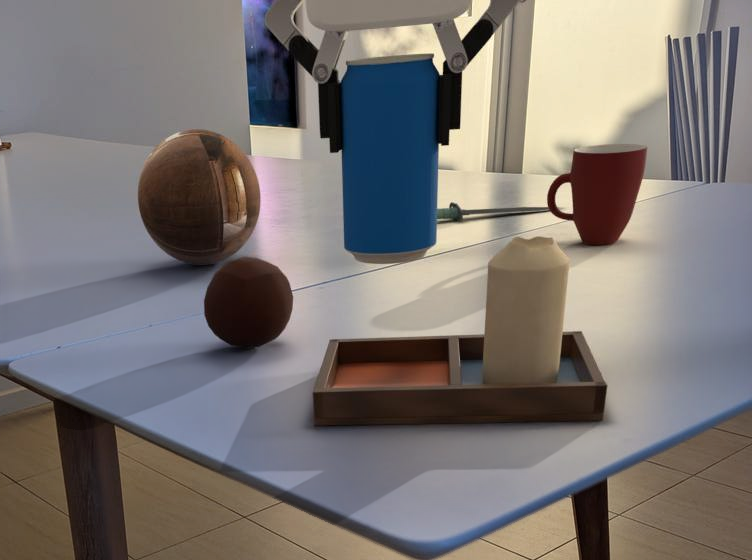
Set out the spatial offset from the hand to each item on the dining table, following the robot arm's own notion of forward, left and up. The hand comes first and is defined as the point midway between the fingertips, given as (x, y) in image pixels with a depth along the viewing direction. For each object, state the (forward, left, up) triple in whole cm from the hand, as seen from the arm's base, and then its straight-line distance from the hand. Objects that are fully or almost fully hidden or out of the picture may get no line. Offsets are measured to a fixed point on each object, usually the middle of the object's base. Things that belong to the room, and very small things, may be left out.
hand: (389, 144), depth 61 cm
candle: (-10, 0, -17) cm, 19 cm away
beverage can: (0, 0, -7) cm, 7 cm away
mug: (-22, -53, -17) cm, 60 cm away
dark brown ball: (+13, -14, -17) cm, 26 cm away
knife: (-10, -74, -17) cm, 77 cm away
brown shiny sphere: (+25, -51, -17) cm, 59 cm away
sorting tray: (-5, 0, -17) cm, 18 cm away
